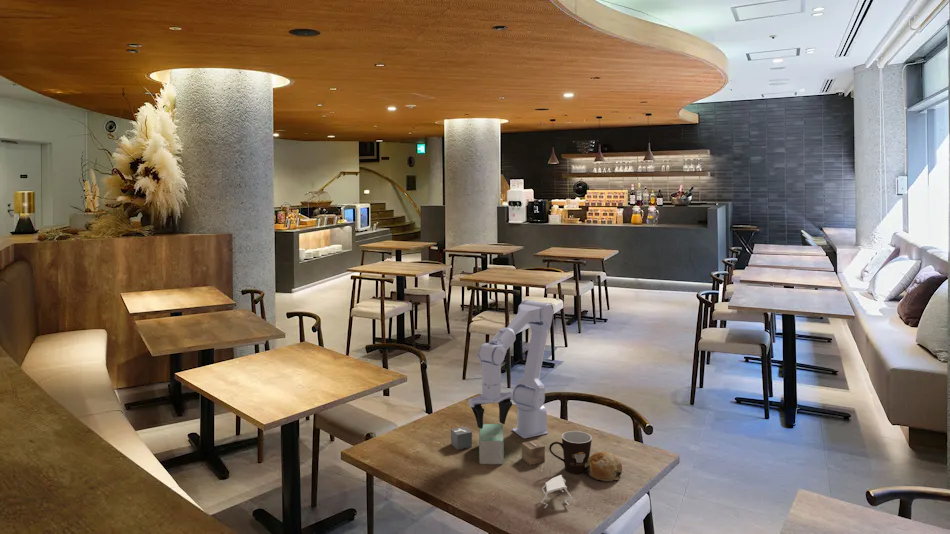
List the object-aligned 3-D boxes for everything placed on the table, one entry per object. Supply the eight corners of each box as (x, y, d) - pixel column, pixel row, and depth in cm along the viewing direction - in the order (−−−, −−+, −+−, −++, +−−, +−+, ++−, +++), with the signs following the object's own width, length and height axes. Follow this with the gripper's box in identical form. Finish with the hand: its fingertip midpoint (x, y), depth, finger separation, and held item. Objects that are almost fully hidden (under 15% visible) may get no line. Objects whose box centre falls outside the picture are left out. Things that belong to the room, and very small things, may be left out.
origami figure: (571, 513, 159) (572, 494, 159) (538, 509, 161) (539, 491, 161) (575, 490, 171) (575, 473, 170) (544, 486, 173) (544, 469, 172)
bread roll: (606, 496, 174) (620, 475, 171) (576, 471, 178) (589, 451, 175) (618, 481, 182) (631, 461, 179) (589, 458, 187) (602, 438, 184)
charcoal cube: (465, 441, 202) (464, 425, 202) (471, 447, 198) (471, 431, 197) (450, 444, 200) (450, 428, 199) (457, 450, 196) (457, 434, 195)
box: (502, 445, 199) (502, 422, 198) (503, 464, 186) (503, 440, 185) (479, 445, 200) (479, 422, 198) (479, 464, 186) (478, 440, 185)
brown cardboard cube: (535, 455, 192) (536, 439, 191) (544, 461, 188) (544, 445, 187) (521, 458, 190) (521, 442, 189) (530, 465, 186) (530, 448, 185)
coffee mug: (593, 465, 185) (594, 433, 184) (588, 478, 177) (589, 445, 176) (554, 459, 189) (555, 428, 188) (548, 472, 181) (548, 439, 180)
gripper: (475, 390, 184) (475, 434, 186) (518, 382, 190) (518, 425, 192) (465, 383, 190) (465, 425, 192) (507, 376, 196) (507, 417, 198)
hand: (491, 425), depth 192 cm, fingers open, 7 cm apart
